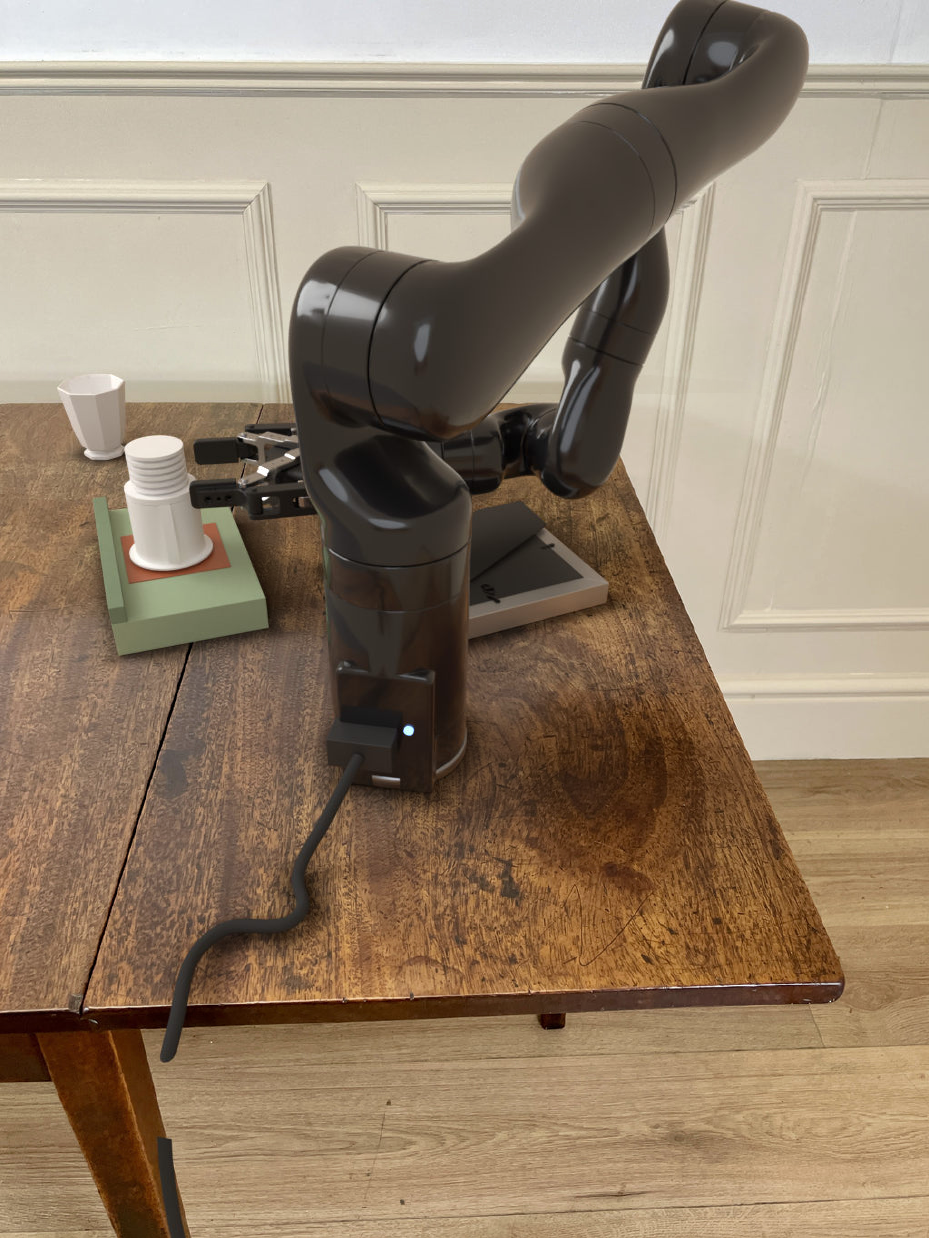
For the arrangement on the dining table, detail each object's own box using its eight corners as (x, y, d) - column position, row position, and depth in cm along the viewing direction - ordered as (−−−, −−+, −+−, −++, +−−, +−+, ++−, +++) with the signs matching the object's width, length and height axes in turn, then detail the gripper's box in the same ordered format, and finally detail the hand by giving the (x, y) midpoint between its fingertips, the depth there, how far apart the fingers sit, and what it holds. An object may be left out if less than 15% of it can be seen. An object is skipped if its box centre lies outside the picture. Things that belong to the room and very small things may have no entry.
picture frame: (519, 525, 95) (322, 568, 87) (521, 500, 93) (321, 541, 85) (606, 603, 83) (388, 660, 75) (610, 575, 81) (387, 631, 74)
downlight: (127, 537, 84) (106, 432, 79) (207, 526, 86) (192, 423, 81) (133, 582, 78) (111, 471, 73) (219, 568, 80) (204, 460, 75)
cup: (75, 469, 103) (59, 398, 99) (67, 435, 111) (52, 368, 106) (141, 460, 105) (128, 390, 101) (129, 427, 113) (117, 361, 109)
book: (227, 521, 94) (222, 480, 91) (268, 627, 79) (263, 582, 76) (101, 540, 90) (92, 498, 88) (118, 656, 75) (107, 608, 72)
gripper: (373, 390, 86) (189, 399, 83) (395, 454, 74) (182, 467, 71) (375, 466, 90) (200, 477, 87) (396, 538, 78) (195, 553, 75)
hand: (192, 472), depth 79 cm, fingers open, 8 cm apart
